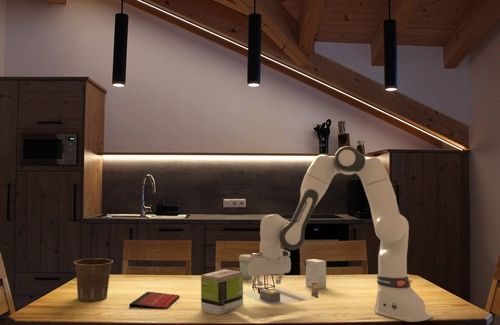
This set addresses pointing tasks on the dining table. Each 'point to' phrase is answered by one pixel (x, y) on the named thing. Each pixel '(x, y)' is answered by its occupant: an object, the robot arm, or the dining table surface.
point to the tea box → (221, 291)
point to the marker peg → (314, 289)
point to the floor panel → (285, 296)
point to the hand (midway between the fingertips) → (269, 284)
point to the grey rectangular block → (270, 295)
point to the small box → (316, 272)
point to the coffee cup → (244, 265)
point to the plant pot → (92, 278)
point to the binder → (154, 300)
